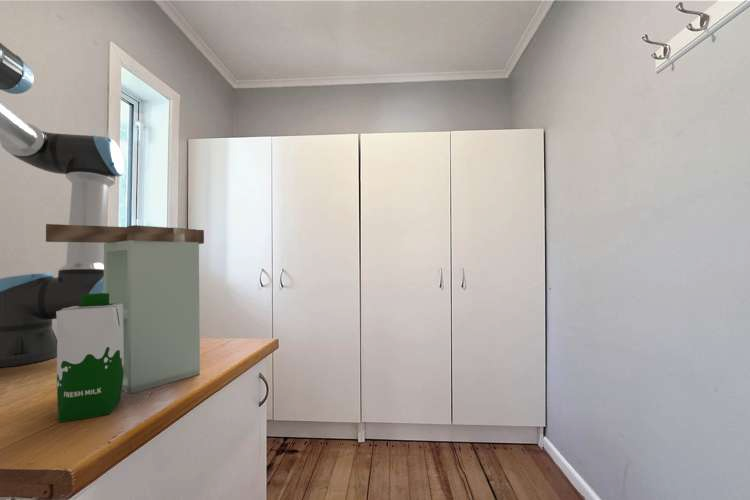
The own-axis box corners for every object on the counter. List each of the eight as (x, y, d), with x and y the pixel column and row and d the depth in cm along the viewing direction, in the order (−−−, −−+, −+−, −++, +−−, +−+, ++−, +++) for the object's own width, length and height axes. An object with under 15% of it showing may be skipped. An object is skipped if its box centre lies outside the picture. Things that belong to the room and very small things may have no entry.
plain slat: (45, 240, 68) (45, 223, 68) (46, 241, 70) (46, 225, 70) (203, 243, 86) (203, 230, 86) (199, 243, 89) (199, 231, 89)
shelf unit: (130, 393, 70) (130, 240, 71) (103, 382, 78) (103, 243, 78) (199, 374, 82) (198, 242, 83) (170, 365, 89) (169, 244, 90)
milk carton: (127, 397, 68) (127, 291, 69) (115, 416, 60) (115, 295, 61) (69, 405, 65) (70, 294, 65) (47, 426, 57) (48, 298, 57)
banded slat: (135, 240, 71) (135, 224, 71) (127, 241, 73) (127, 225, 73) (196, 242, 83) (196, 228, 83) (188, 243, 84) (188, 229, 84)
